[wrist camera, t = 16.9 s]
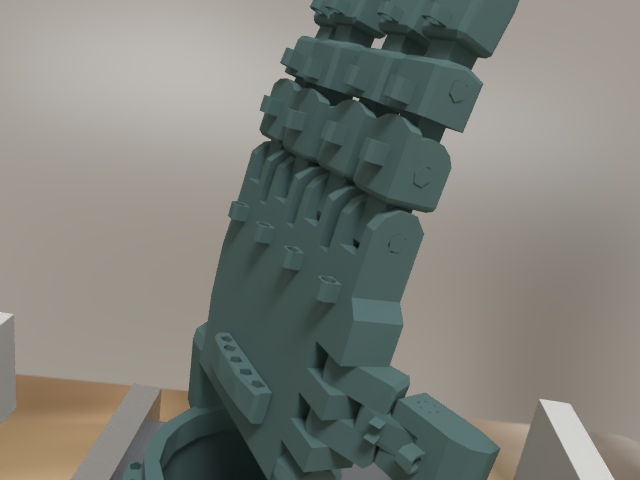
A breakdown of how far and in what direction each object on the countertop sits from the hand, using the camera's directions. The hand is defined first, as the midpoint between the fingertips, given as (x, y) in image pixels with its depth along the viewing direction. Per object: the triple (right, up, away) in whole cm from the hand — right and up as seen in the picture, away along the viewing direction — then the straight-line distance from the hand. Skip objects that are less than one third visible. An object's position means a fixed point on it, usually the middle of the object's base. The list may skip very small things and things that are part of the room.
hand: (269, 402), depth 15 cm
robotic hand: (-2, -10, +9) cm, 14 cm away
